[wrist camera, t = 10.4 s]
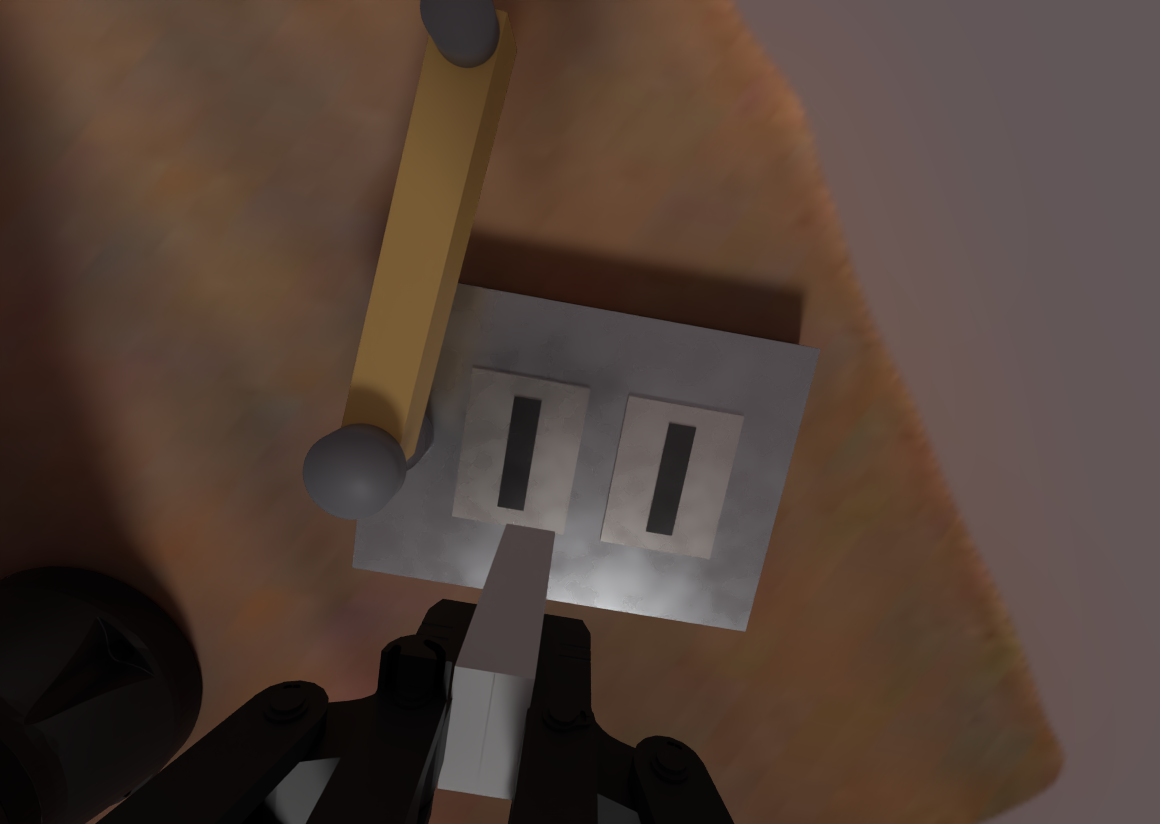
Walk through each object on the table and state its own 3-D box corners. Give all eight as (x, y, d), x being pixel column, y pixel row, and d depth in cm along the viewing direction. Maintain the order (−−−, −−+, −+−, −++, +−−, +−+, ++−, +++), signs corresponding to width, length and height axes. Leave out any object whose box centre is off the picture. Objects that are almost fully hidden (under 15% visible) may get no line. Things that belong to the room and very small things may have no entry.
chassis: (369, 547, 32) (335, 587, 28) (399, 272, 29) (366, 267, 25) (733, 606, 33) (757, 655, 29) (800, 344, 30) (839, 352, 25)
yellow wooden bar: (416, 491, 26) (382, 531, 22) (343, 470, 26) (293, 506, 22) (531, 49, 22) (518, -14, 18) (446, 20, 22) (411, -51, 18)
